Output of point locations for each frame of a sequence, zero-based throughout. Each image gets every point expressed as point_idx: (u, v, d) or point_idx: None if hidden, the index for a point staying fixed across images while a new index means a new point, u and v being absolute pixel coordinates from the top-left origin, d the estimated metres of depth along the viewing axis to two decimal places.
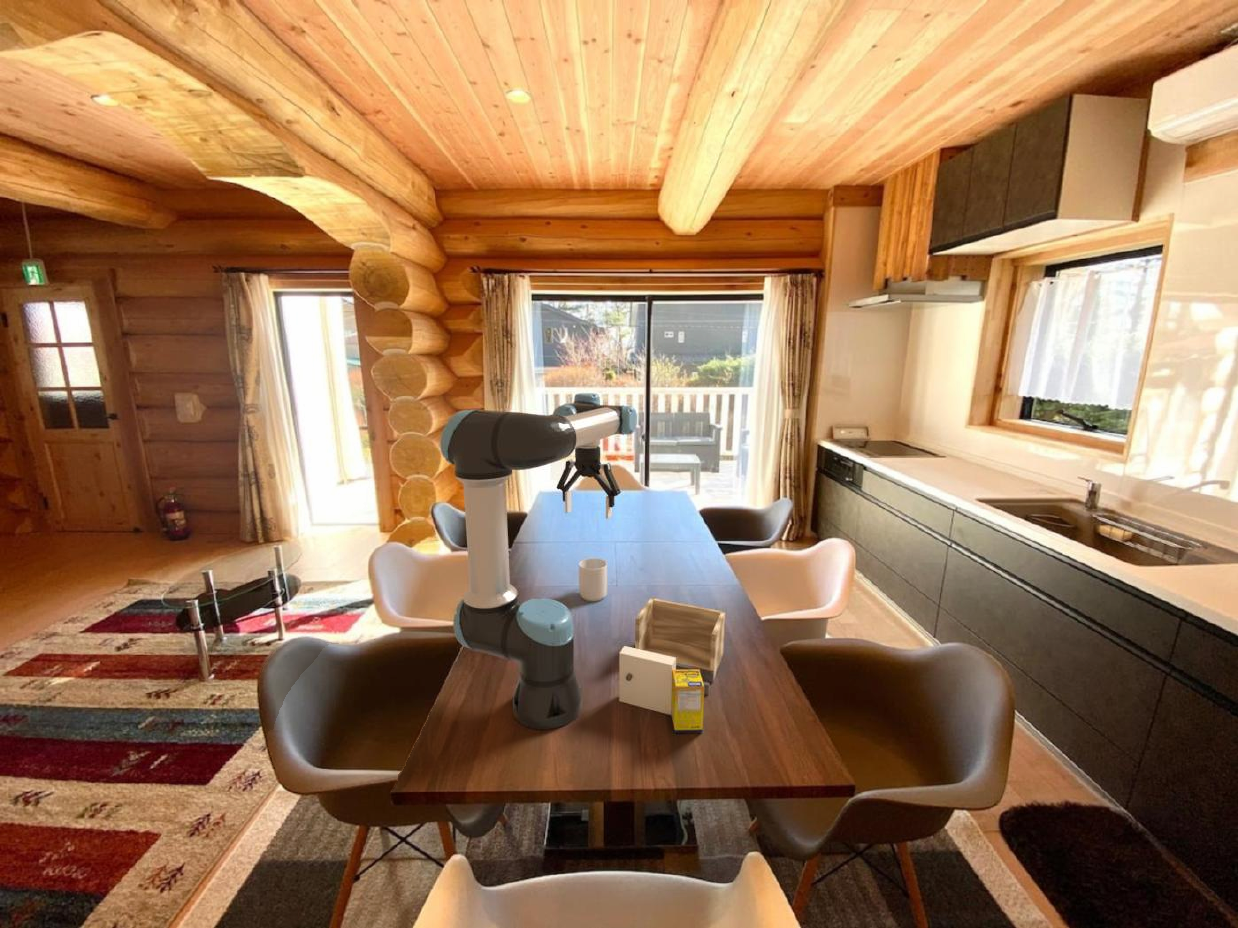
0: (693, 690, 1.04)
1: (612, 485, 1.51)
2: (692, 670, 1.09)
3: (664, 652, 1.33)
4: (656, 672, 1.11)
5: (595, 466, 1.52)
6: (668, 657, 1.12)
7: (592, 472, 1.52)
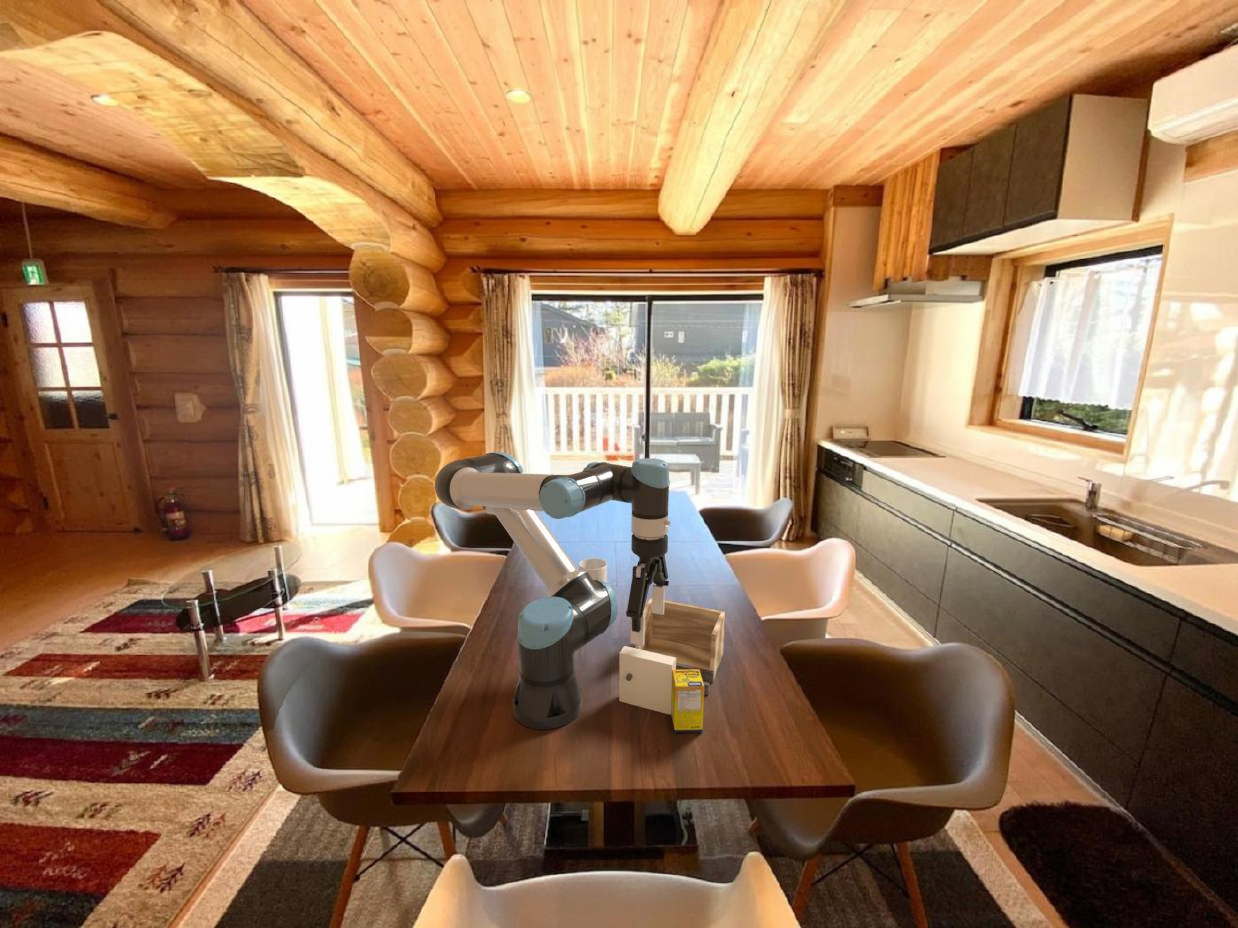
0: (693, 690, 1.04)
1: None
2: (692, 670, 1.09)
3: (664, 652, 1.33)
4: (656, 672, 1.11)
5: None
6: (668, 657, 1.12)
7: None
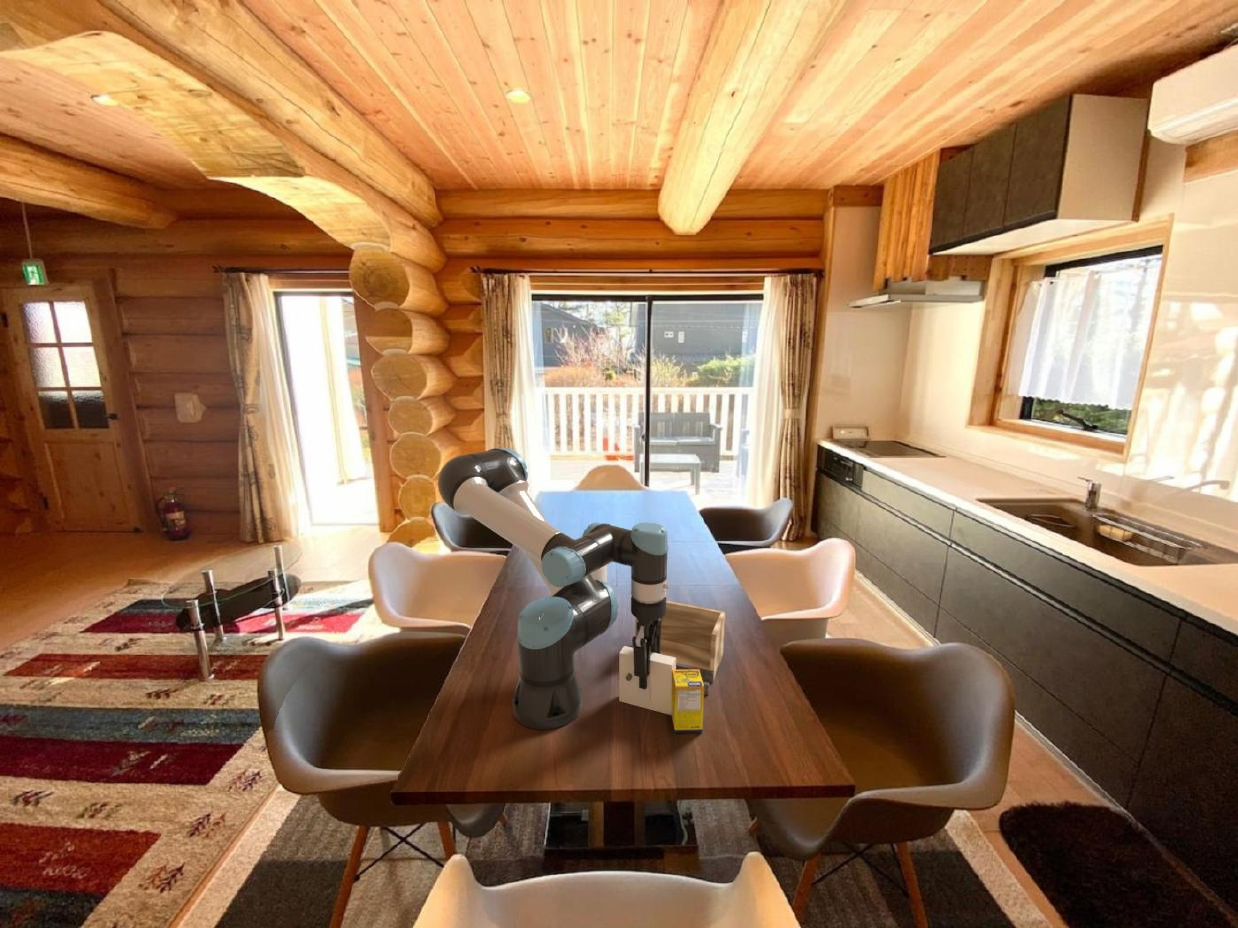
0: (693, 690, 1.04)
1: None
2: (692, 670, 1.09)
3: (664, 652, 1.33)
4: (656, 672, 1.11)
5: None
6: (668, 657, 1.12)
7: None
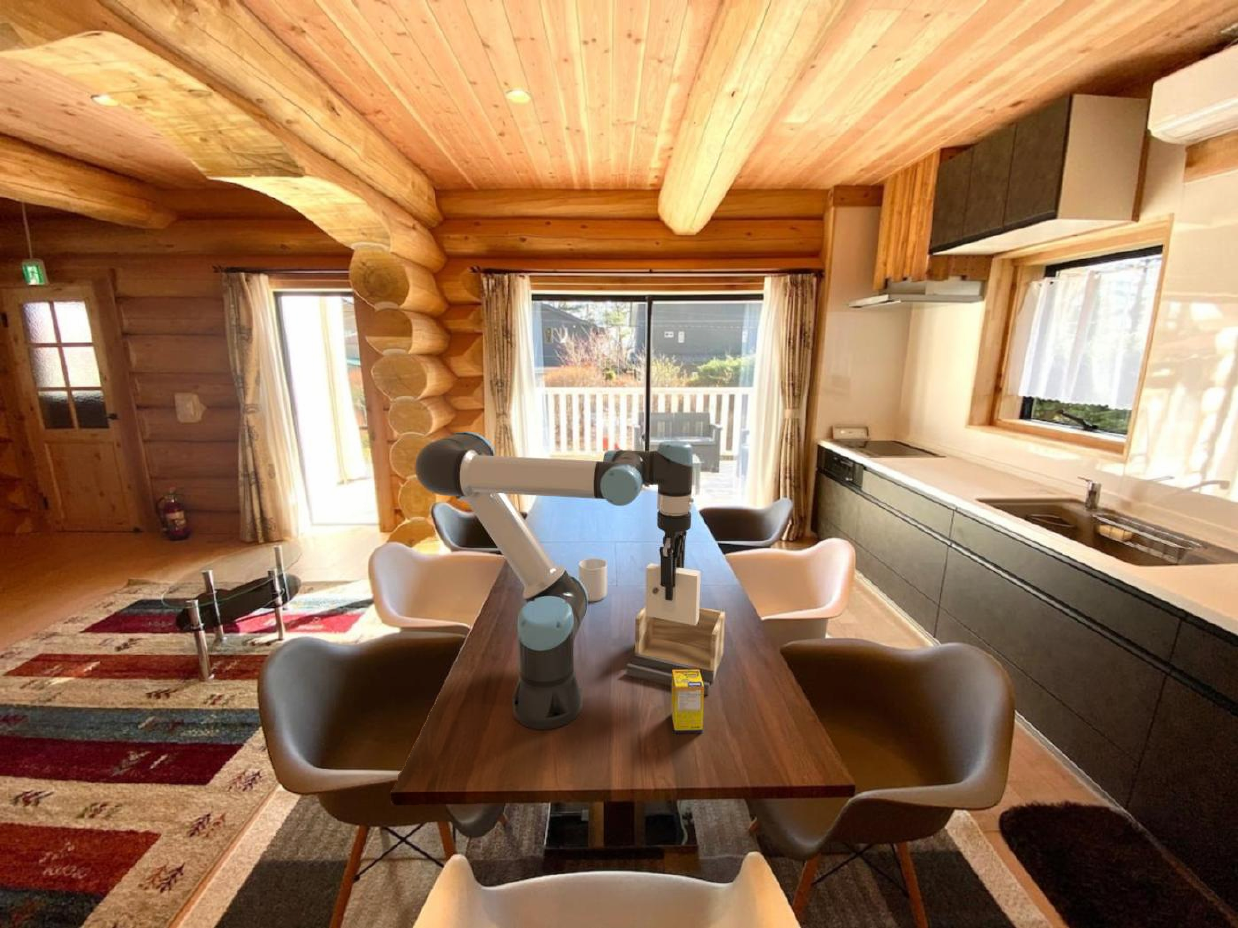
0: (693, 690, 1.04)
1: None
2: (692, 670, 1.09)
3: (664, 652, 1.33)
4: (681, 585, 1.16)
5: None
6: (693, 571, 1.17)
7: None
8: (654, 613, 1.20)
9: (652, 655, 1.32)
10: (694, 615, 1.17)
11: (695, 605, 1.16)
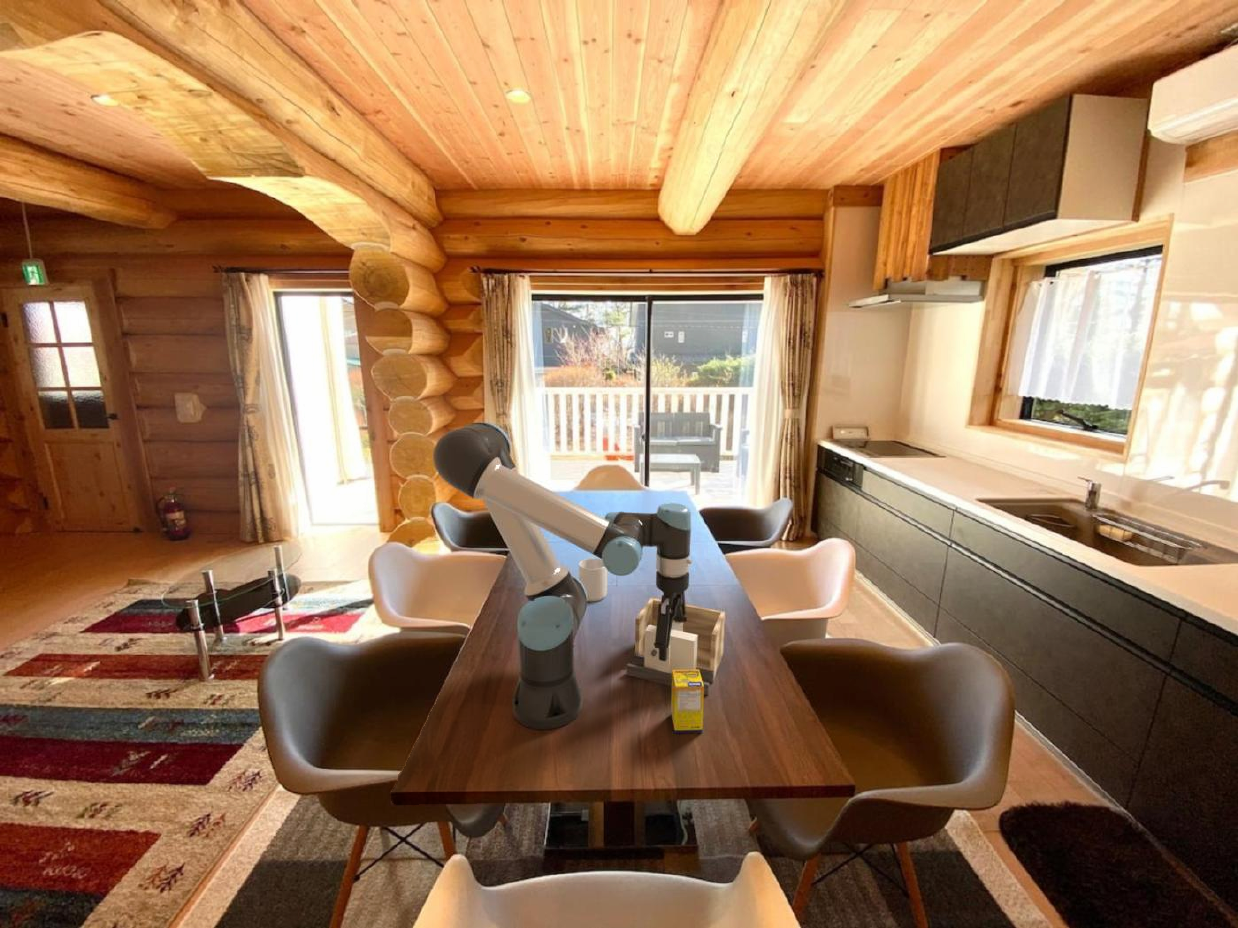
0: (693, 690, 1.04)
1: None
2: (692, 670, 1.09)
3: None
4: (679, 648, 1.20)
5: None
6: (690, 634, 1.21)
7: None
8: None
9: None
10: None
11: (692, 668, 1.20)
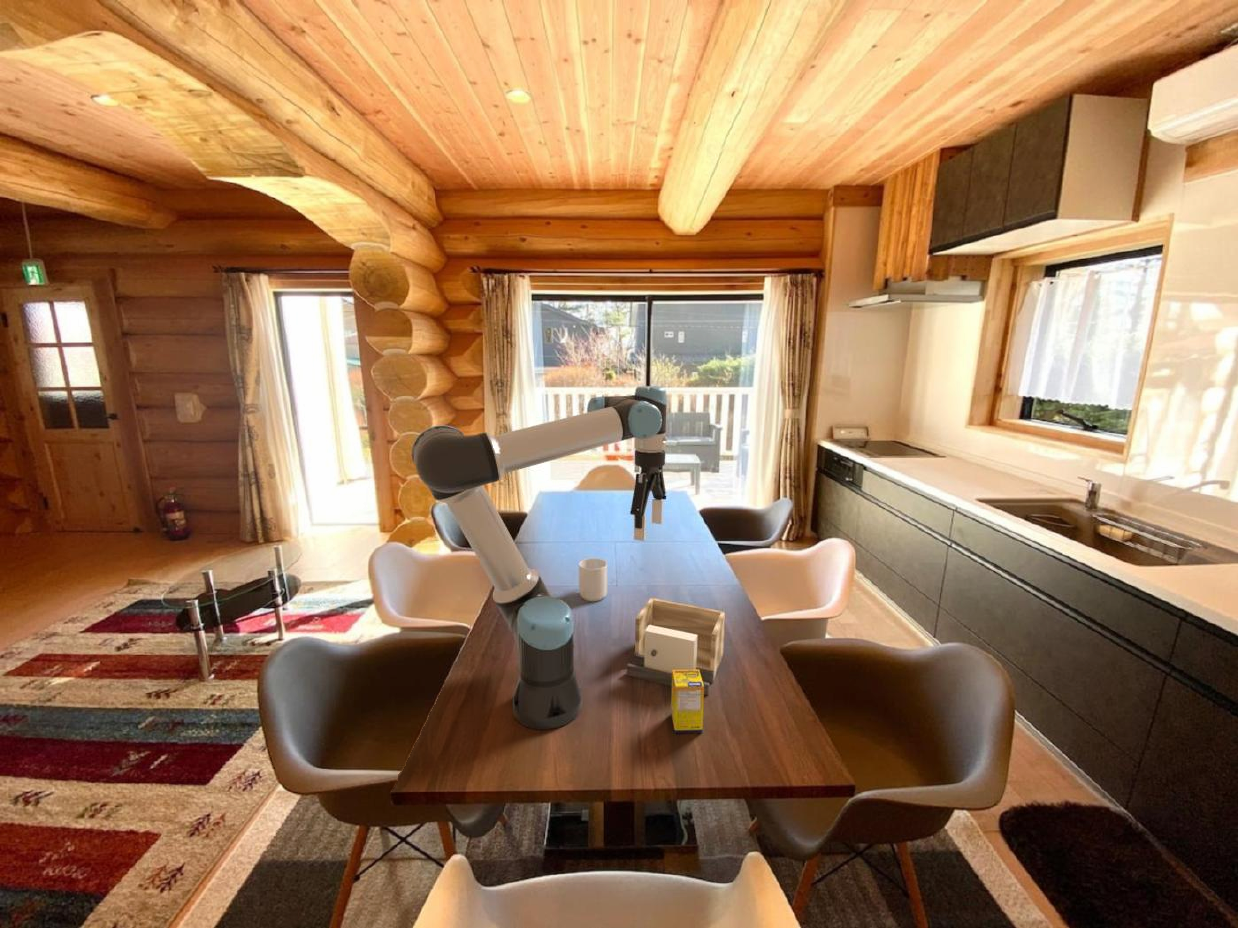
0: (693, 690, 1.04)
1: None
2: (692, 670, 1.09)
3: None
4: (679, 648, 1.20)
5: None
6: (690, 634, 1.21)
7: None
8: None
9: None
10: None
11: (692, 668, 1.20)
